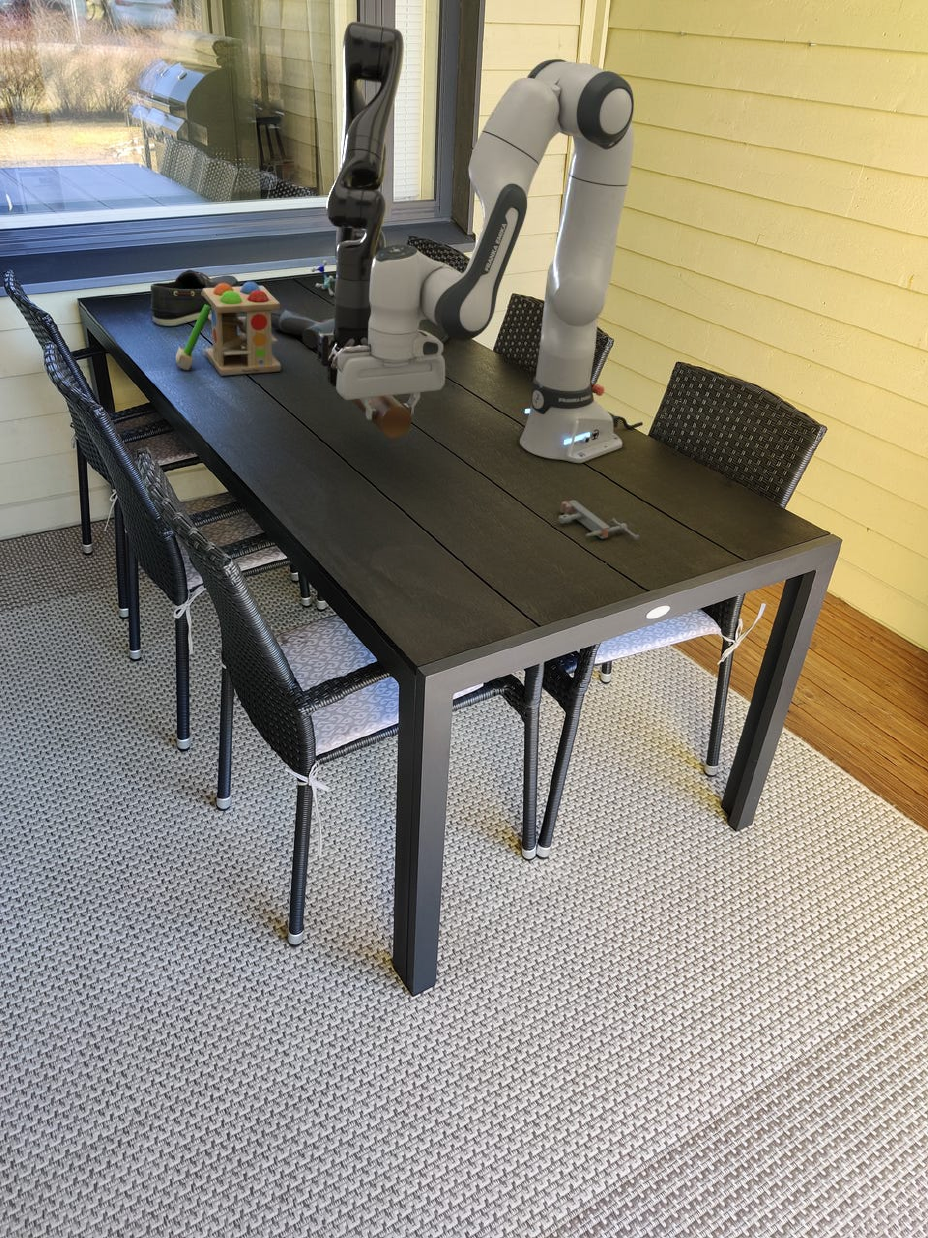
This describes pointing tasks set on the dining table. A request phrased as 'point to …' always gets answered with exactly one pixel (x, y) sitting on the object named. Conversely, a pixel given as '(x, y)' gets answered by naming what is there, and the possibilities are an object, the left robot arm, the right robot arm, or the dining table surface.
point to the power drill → (301, 326)
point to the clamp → (582, 515)
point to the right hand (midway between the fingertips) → (389, 416)
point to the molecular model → (327, 280)
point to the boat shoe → (183, 297)
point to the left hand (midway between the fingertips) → (353, 383)
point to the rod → (388, 415)
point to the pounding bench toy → (229, 347)
